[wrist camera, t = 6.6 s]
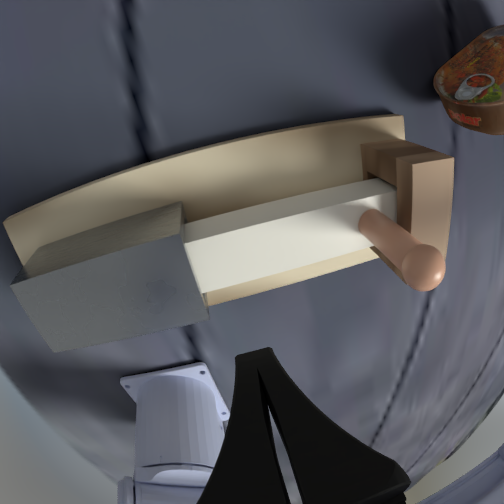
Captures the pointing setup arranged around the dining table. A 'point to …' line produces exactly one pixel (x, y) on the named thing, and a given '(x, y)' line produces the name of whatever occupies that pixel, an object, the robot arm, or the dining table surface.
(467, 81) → the tin
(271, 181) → the base board
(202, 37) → the dining table surface
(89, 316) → the grey rectangular sleeve
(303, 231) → the white bar
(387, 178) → the socket block
